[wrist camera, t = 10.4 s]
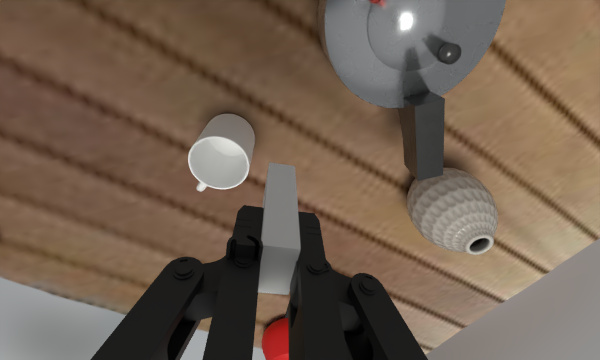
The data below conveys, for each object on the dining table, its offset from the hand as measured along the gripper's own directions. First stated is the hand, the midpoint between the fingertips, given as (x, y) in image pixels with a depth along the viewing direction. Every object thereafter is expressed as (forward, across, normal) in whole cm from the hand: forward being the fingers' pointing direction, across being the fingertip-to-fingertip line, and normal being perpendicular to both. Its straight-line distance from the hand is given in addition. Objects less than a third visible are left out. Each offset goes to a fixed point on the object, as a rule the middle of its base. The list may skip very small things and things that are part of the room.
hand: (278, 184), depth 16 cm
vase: (+31, +31, -14) cm, 46 cm away
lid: (+20, +13, +8) cm, 26 cm away
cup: (+31, -8, -13) cm, 34 cm away
